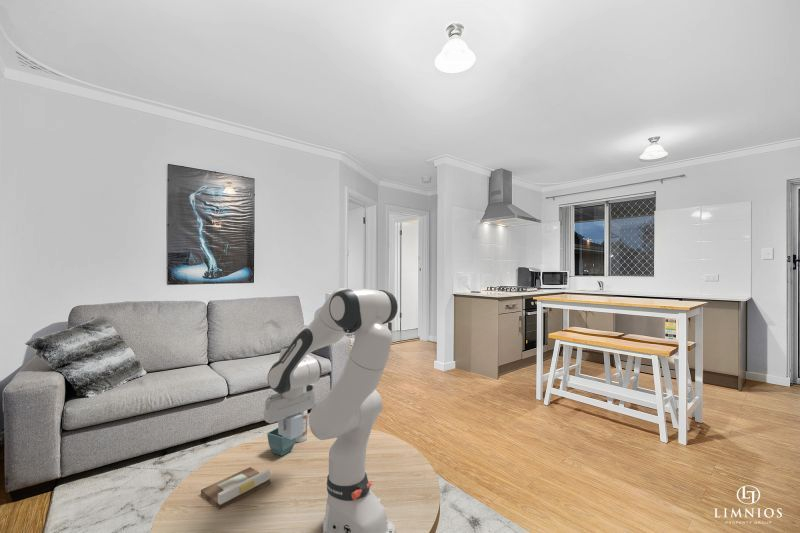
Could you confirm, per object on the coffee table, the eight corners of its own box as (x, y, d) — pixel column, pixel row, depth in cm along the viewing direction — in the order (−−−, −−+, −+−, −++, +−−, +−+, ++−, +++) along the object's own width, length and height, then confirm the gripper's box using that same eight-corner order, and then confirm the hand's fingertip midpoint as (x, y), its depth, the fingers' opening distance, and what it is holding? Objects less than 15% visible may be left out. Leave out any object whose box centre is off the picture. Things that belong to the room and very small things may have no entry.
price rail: (271, 479, 129) (271, 471, 129) (221, 505, 114) (221, 495, 114) (267, 477, 130) (267, 469, 130) (217, 502, 116) (217, 493, 116)
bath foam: (294, 444, 158) (294, 398, 159) (289, 438, 164) (289, 394, 164) (309, 440, 162) (309, 395, 162) (304, 434, 168) (304, 391, 168)
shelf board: (270, 483, 129) (270, 478, 129) (220, 509, 115) (220, 504, 115) (249, 471, 137) (250, 466, 137) (200, 494, 122) (200, 489, 122)
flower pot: (266, 454, 149) (266, 432, 149) (282, 445, 157) (282, 424, 157) (281, 459, 145) (281, 437, 145) (297, 450, 153) (297, 429, 153)
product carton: (290, 429, 136) (290, 410, 136) (302, 434, 132) (302, 415, 132) (278, 433, 132) (278, 414, 132) (290, 439, 128) (291, 419, 128)
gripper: (271, 398, 122) (270, 439, 122) (318, 384, 138) (317, 420, 138) (260, 395, 126) (260, 434, 126) (307, 381, 142) (307, 416, 142)
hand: (290, 427), depth 132 cm, fingers closed on product carton, 5 cm apart
